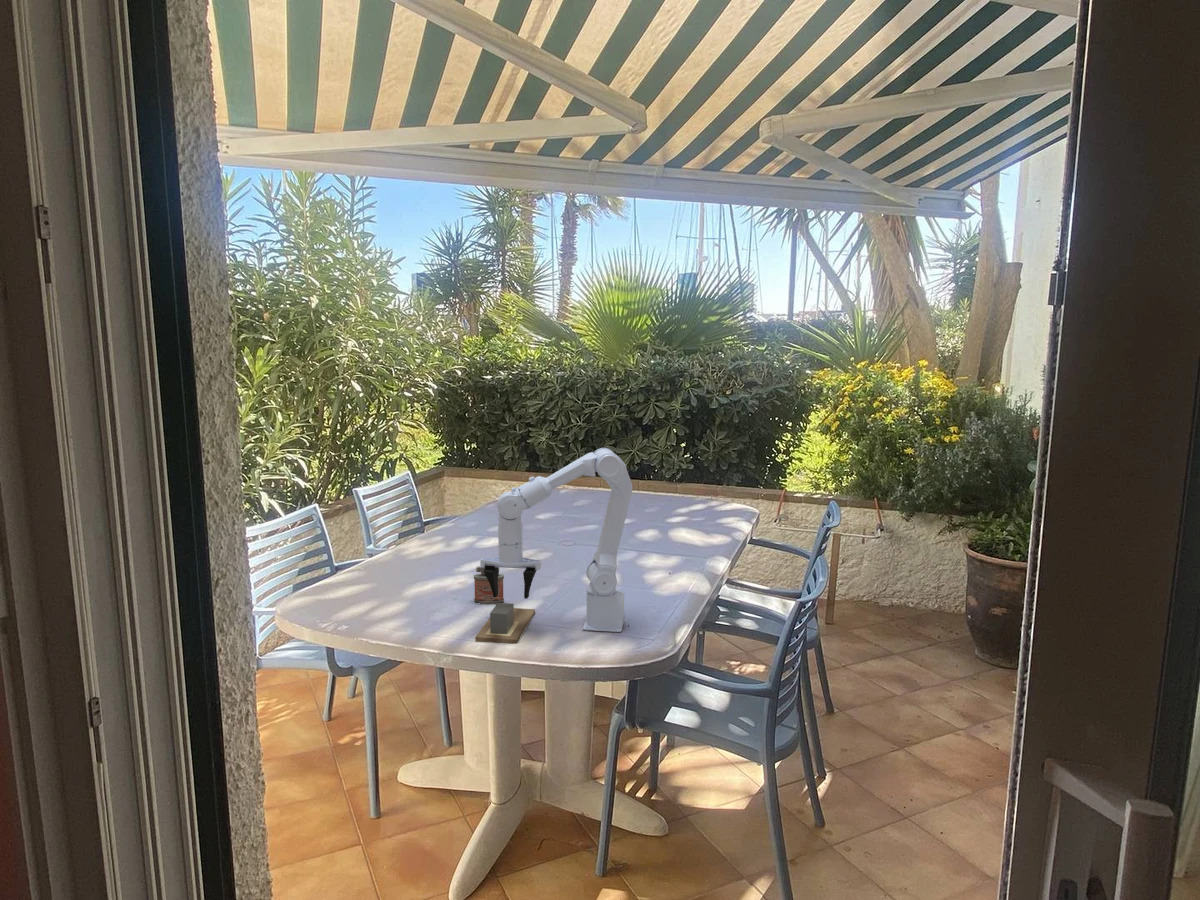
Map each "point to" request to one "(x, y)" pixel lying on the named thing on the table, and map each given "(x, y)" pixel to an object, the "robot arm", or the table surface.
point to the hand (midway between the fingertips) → (511, 596)
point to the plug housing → (502, 618)
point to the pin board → (515, 632)
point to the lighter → (487, 588)
